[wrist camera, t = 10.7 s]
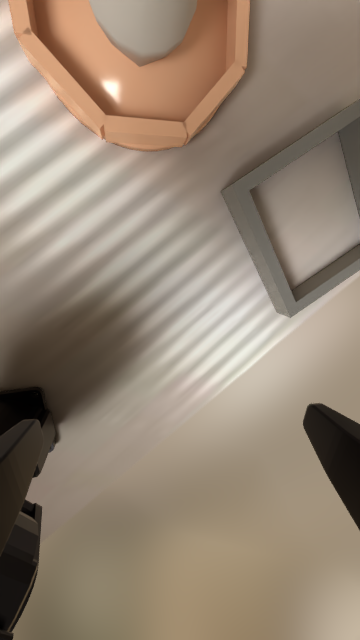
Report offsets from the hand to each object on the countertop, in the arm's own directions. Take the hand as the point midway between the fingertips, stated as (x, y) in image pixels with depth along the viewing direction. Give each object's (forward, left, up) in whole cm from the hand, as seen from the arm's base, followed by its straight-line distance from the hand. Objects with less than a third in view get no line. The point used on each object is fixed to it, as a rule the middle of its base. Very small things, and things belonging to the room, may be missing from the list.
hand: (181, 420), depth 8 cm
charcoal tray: (+15, +8, -13) cm, 21 cm away
